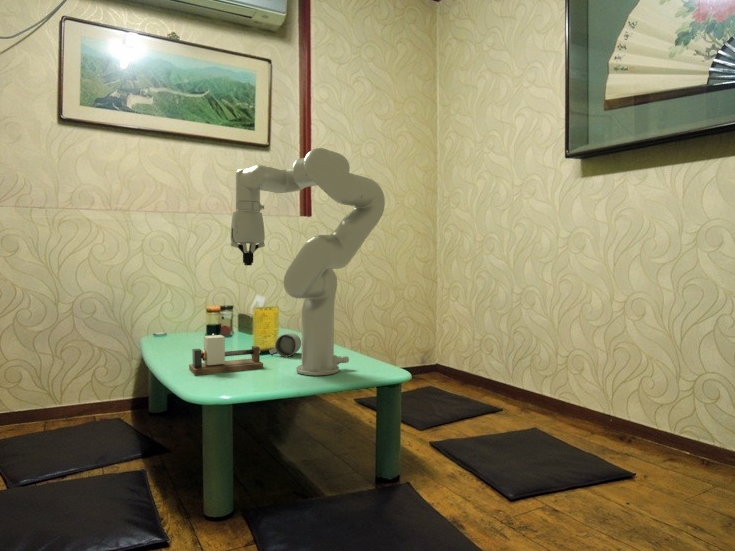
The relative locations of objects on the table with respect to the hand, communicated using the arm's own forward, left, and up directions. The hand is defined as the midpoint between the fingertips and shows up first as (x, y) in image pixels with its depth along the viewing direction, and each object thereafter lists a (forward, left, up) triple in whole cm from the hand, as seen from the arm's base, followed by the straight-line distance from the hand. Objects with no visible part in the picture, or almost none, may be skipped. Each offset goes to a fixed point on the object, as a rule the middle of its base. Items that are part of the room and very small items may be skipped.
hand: (248, 265), depth 163 cm
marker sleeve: (+12, +8, -29) cm, 33 cm away
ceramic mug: (-14, -5, -32) cm, 35 cm away
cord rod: (+9, +8, -30) cm, 32 cm away
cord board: (+9, +8, -31) cm, 33 cm away
